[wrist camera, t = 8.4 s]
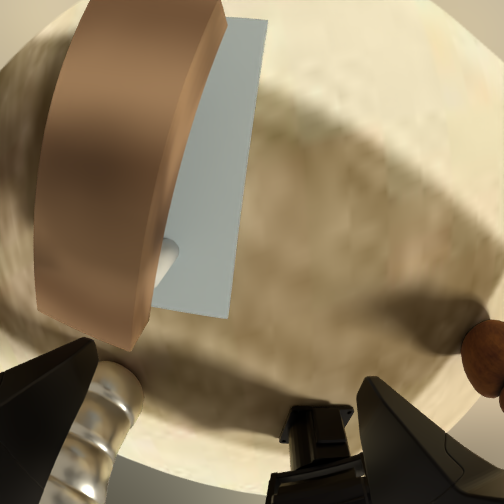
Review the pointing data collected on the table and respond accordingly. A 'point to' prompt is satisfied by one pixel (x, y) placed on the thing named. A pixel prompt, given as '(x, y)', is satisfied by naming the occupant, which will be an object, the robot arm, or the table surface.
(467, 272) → the table surface
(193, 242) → the peg stand
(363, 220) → the table surface
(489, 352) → the wooden figurine
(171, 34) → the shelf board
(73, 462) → the plastic bottle
